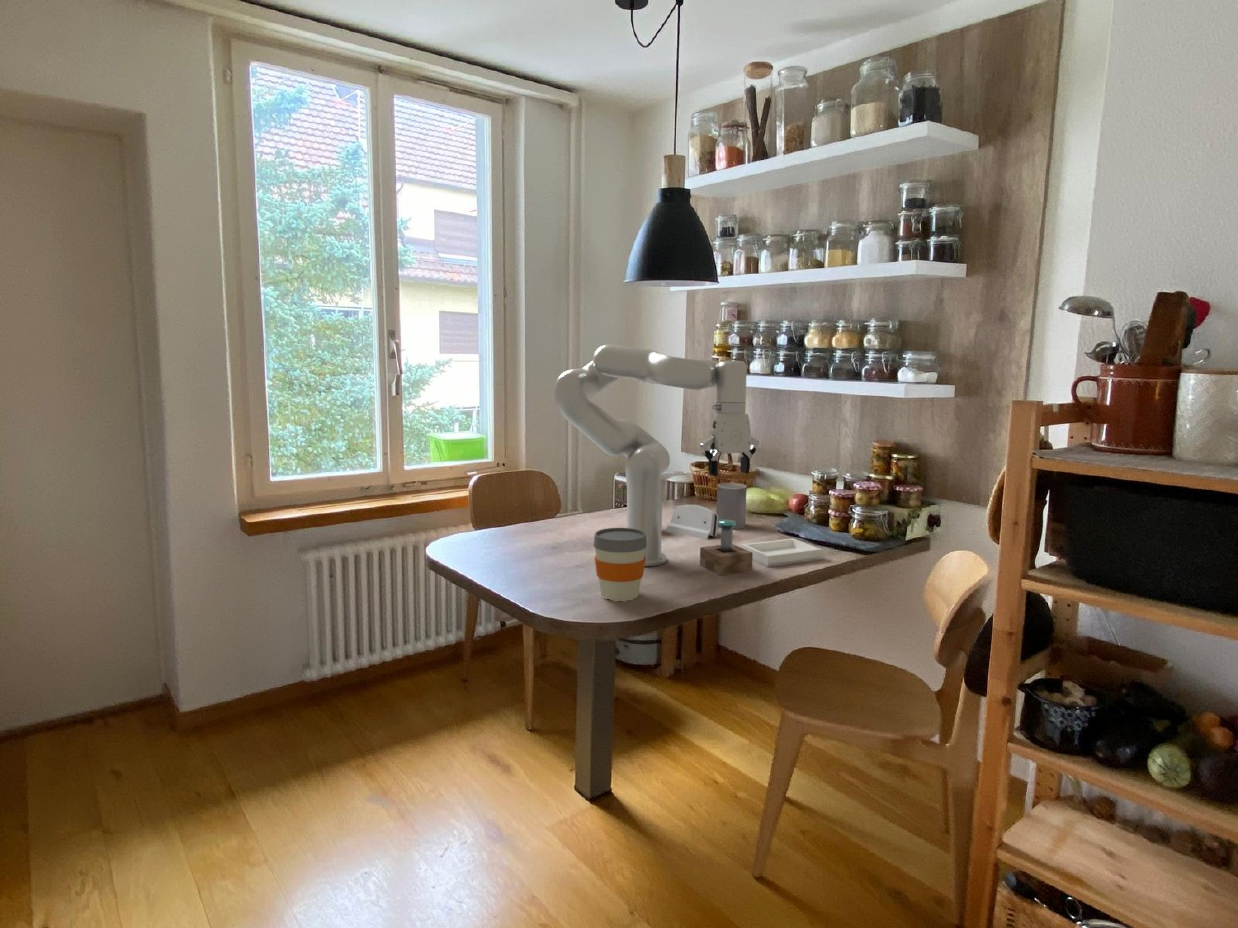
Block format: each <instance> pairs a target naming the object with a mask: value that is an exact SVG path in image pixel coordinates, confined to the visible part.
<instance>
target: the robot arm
mask: <svg viewBox="0 0 1238 928" xmlns="http://www.w3.org/2000/svg"><path fill="white" fill-rule="evenodd" d="M747 367H748V366H747V364H746V362H745V361H741V360H722V361H719V360H712V359H691V358H685V357H684V358H683V357H676V356H672V355H671V356H670V355H666V354H663V353H660V352H658V351H657V350H651V349H644V348H638V347H630V346H624V345H620V344H611V343H610V344H608V343H607V344H603V345H602V346H598V348H597V349H596V350H595V351H594V353H593V355H592V361H590V362H589V363H587V364H586V365H585V366H584V367H582V368H573V369H568V370H565V371H563V372H561V374H559V376H558V377H557V379H556V382H555V384H554V389H553V396H554V398H553V399H554V402H555V404H556V407H557V410H558V411H559V413H560V414H561V415H562V417H564V419H565V420H566V421H568V422H569V423H570V424H571V425H572V426H573V427H574V428H576V429H577V430H578V431H579V432H581V433H582V434H583V435H584V436H585V437H586V438H588V439H589V440H590V441H591V442H593V444H595V445H596V446H597V447H598V448H599V449H600V450H602V451H603V452H604V453H605V454H607V455H609V456H611V457H620V456H622V455H623V456H624V457H625V458H626V462H625V465H624V466H625V469H624V470H625V482H626V504H627V505H626V510H627V511H626V516H627V517H626V528H632V529H637V530H641V531H643V532H645V533H646V541H647V547H646V548H645V554H644V556H645V557H646V559H645V566H644V567H655V566H658V565H659V566H660V565H662V564H665V563H666V562H667V559H668V556H667V555H666V554H665V553H663V552H662V530H663V529H662V526H663V521H662V520H663V519H662V518H663V488H662V479H661V477H662V475H663V474H664V473H665V472H667V470H668V468H669V466H670V463H671V457H670V453H669V451H668V449H667V448H666V447H665V446H664V445H663V444H662V443H660V442H659V440H657V439H655V437H653V436H652V435H651V434H650V433H648V432H647V431H646V430H645V429H643V428H642V427H641V426H640V425H638V424H637V423H635V422H633V421H631V420H629V419H615V418H613V416H611V415H610V414H608V413H607V412H606V411H605V410H604V409H602V408H601V407H599V405H597V404H595V403H594V402H593V401H590V399H589V398H593V397H594V396H596V395H598V394H599V393H601V392H602V391H603V390H604V389H606V388H607V387H608V386H610V385H612V384H613V383H614V382H616V381H617V380H618V379H624V380H629V381H630V380H631V381H637V382H643V383H648V384H653V385H655V384H656V385H657V384H658V385H662V386H668V387H672V388H680V389H681V388H682V389H687V390H692V391H693V390H694V391H699V390H700V391H701V390H704V389H709V388H716V401H715V404H712V411H715V414H713V417H712V422H711V428H710V437H709V438H707V439H706V440H704V441H702V442H700V444H699V447H700V449H701V451H702V454H703V455H704V456H705V457H706V460H708V468H707V469H708V470H707V471H708V475H709V476H713V477H717V476H718V473H719V472H718V468H719V467H718V466H719V462H718V460H717V459H718V457H720V454H741V456H742V457H740V472H741V474H742V473H743V474H747V475H748V474H750V468H751V459H752V458H753V455H754V454H755V453H756V452H757V449H758V446H759V444H760V441H759V440H757V439H755V438H754V437H752V434H751V433H752V432H751V423H750V422H751V421H750V417H749V414H748V413H746V410H747V409H746V407H747V406H746V405H747V404H746V403H747V401H746V400H747V372H748V371H747V370H748V369H747ZM709 447H710V450H709Z"/></svg>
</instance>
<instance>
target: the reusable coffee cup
mask: <svg viewBox="0 0 1238 928" xmlns="http://www.w3.org/2000/svg"><path fill="white" fill-rule="evenodd" d="M593 547H594V550H595V556H594V563H595V572H596V576H597V578H598V581H599V583H598V584H599V589H600V590H599V591H600V596H601V597H602V596H603V597H605V598H607V599H610V600H617V601H623V602H628V601H627V600H631V601H633V600H632V599H634V598H636V599H637V597H639V594H640V587H641V582H642V578H643V577H644V571H645V567H646V566H645V559H646V557H645V556H644V554H645V548H646V547H647V541H646V533H645V532H643V531H641V530H637V529H632V528H627V527H608V528H603V529H599V530H597V531H595V532H594V539H593ZM610 600H609V601H610ZM634 600H635V599H634ZM617 601H616V602H617Z"/></svg>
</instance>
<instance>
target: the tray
mask: <svg viewBox="0 0 1238 928" xmlns="http://www.w3.org/2000/svg"><path fill="white" fill-rule="evenodd" d="M740 547H741V548H743V549H745V550H747V551H750V552H752V553H753V555H752V562H753V561H754V562H755V563H758V564H760V565H762V566H765V567H767V568H770V567H771V568H772V567H777V566H786V565H792V564H800V563H808V562H814V561H815V562H816V561H821V560H822V555H823V553H822V552H823V551H822V548H819V547H817V546H814V545H812V544H809V543H806V542H803V541H801V540H798V539H796V538H784V539H777V540H776V539H775V540H766V541H760V542H759V541H758V542H749V543H741V544H740Z"/></svg>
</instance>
